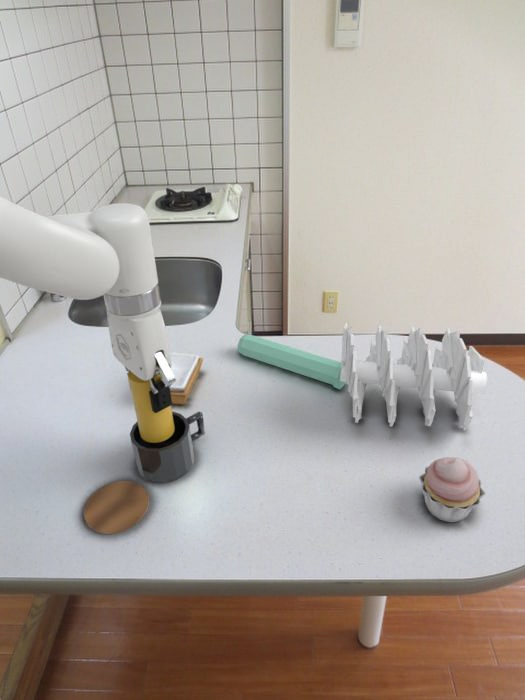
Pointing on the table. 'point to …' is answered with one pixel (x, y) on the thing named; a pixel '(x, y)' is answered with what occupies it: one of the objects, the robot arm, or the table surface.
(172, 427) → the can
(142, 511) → the coaster
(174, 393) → the soap dish
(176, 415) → the mug
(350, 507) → the table surface
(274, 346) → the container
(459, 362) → the spiral staircase
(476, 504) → the cupcake
